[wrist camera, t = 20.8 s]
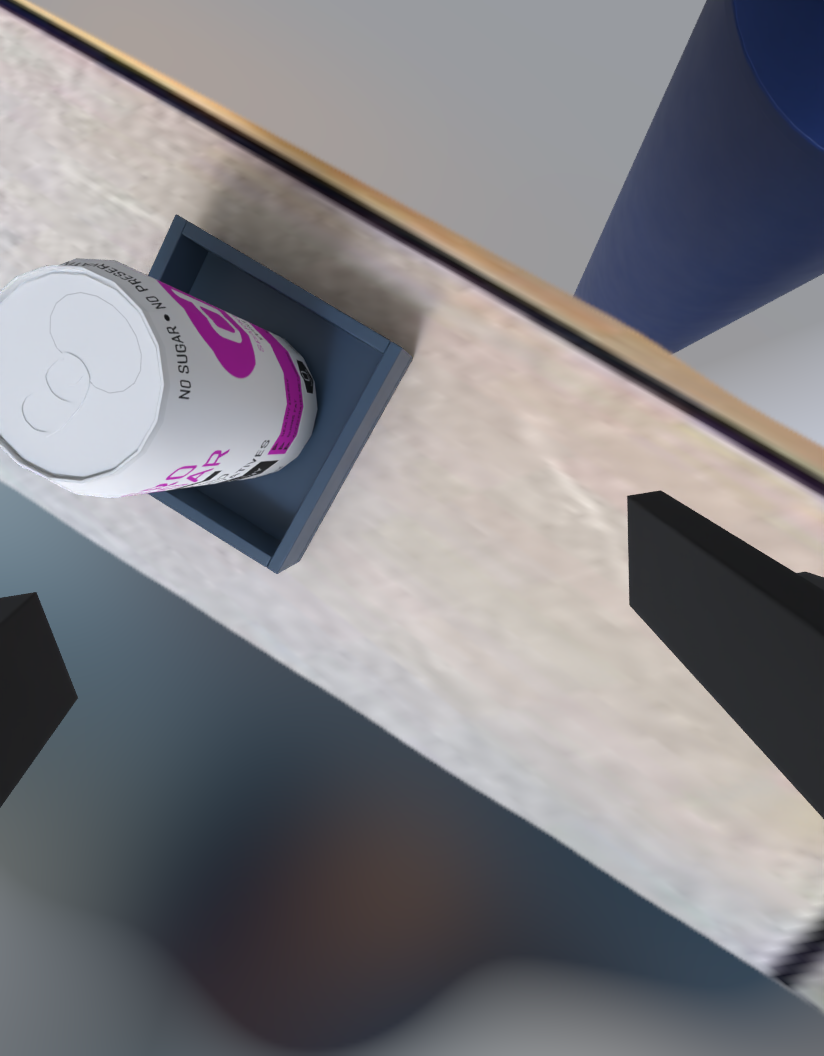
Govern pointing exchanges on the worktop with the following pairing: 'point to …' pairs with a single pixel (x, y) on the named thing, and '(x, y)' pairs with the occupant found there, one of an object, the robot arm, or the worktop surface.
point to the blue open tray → (341, 391)
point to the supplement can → (142, 384)
